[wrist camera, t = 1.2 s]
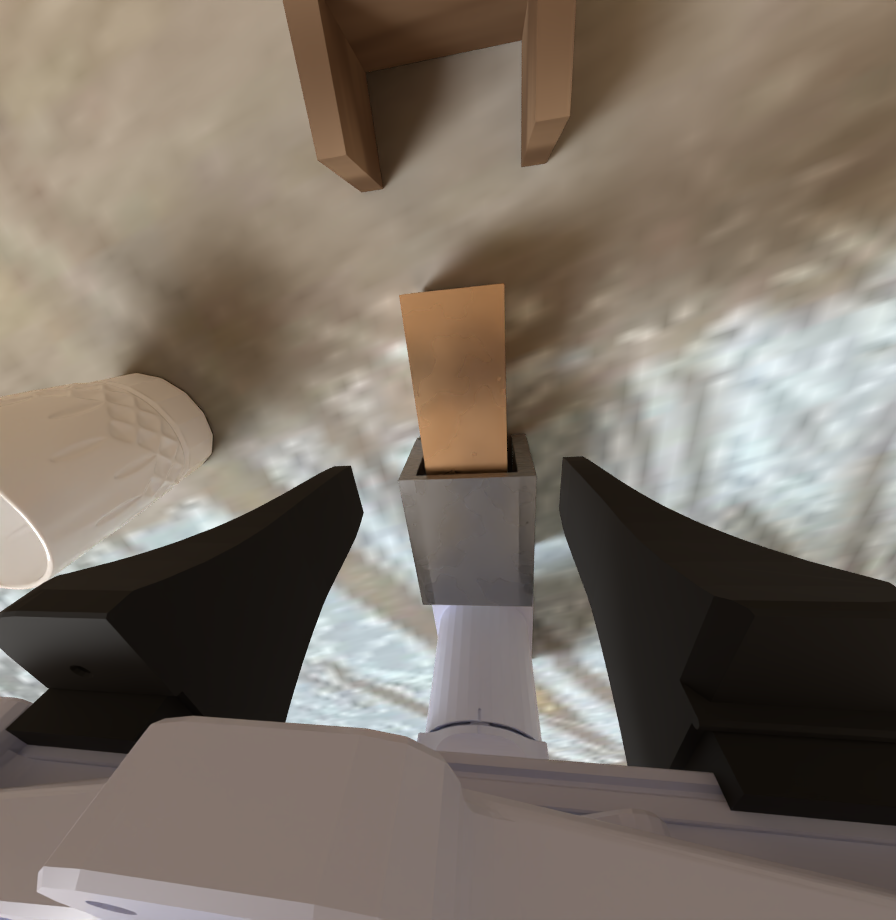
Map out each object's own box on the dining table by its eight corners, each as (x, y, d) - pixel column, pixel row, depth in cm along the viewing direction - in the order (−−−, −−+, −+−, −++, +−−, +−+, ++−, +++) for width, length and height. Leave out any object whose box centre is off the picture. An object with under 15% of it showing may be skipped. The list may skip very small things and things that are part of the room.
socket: (546, 163, 14) (569, 115, 10) (361, 192, 15) (317, 160, 11) (551, -9, 11) (585, -157, 8) (334, 40, 12) (267, -68, 9)
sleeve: (523, 548, 24) (532, 606, 19) (433, 549, 24) (422, 604, 20) (525, 433, 19) (536, 475, 15) (416, 439, 20) (398, 480, 16)
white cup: (247, 449, 22) (89, 560, 13) (174, 490, 24) (-2, 607, 16) (151, 338, 19) (-137, 387, 10) (78, 397, 21) (-206, 478, 13)
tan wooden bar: (505, 540, 23) (509, 586, 20) (449, 540, 24) (443, 585, 20) (500, 283, 16) (504, 283, 12) (417, 292, 16) (399, 295, 13)
